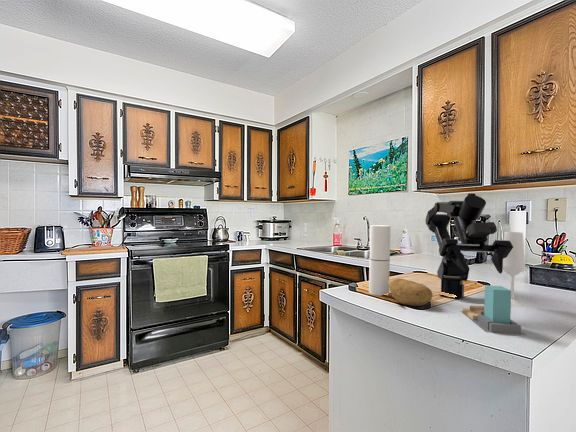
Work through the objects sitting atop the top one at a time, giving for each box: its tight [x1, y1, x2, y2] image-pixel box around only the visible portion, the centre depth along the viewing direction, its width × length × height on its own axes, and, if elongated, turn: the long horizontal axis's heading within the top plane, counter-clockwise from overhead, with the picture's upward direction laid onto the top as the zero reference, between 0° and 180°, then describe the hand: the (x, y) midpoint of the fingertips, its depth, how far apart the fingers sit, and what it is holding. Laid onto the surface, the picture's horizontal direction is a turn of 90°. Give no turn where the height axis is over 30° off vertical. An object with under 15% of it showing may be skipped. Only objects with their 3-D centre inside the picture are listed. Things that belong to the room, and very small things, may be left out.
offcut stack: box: [461, 305, 484, 320], centre depth 85 cm, size 7×8×2 cm
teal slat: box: [483, 284, 512, 324], centre depth 78 cm, size 4×4×10 cm
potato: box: [389, 278, 434, 307], centre depth 98 cm, size 10×14×8 cm
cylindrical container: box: [368, 224, 391, 297], centre depth 111 cm, size 7×7×25 cm
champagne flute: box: [503, 231, 526, 308], centre depth 100 cm, size 7×7×24 cm
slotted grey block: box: [460, 310, 527, 336], centre depth 81 cm, size 16×9×3 cm, turn 171°
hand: (483, 271), depth 86 cm, fingers open, 9 cm apart
